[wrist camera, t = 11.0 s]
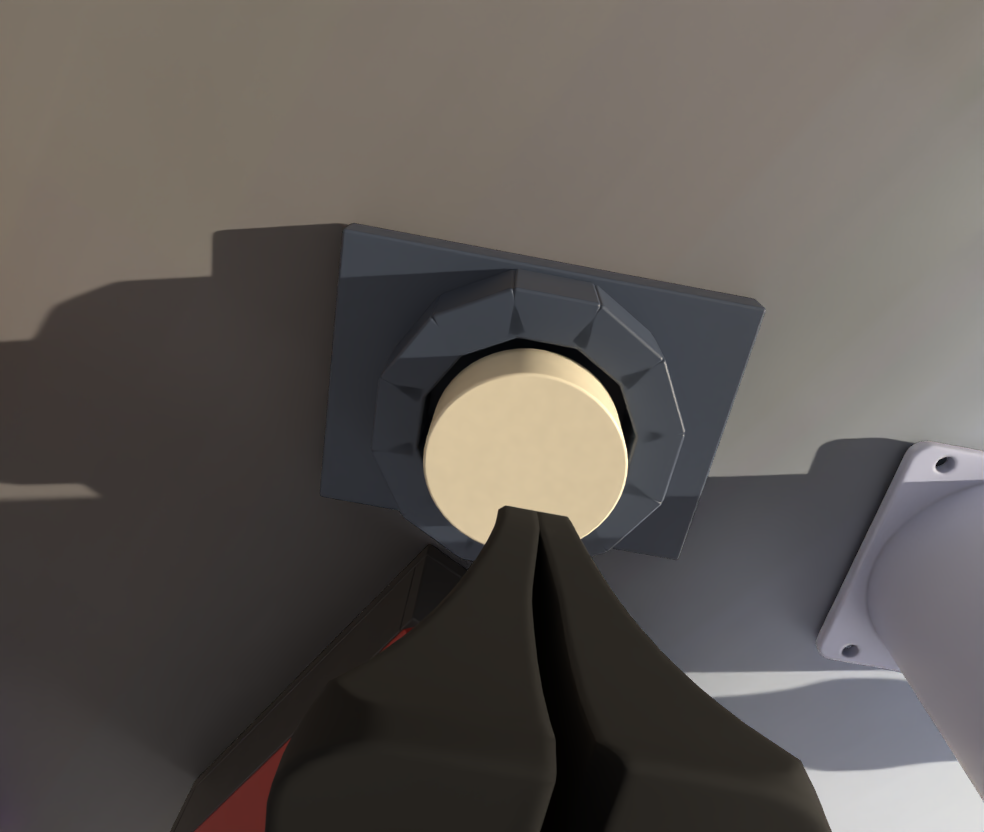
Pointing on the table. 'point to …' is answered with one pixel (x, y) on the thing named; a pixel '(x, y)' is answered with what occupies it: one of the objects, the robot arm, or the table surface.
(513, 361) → the power button
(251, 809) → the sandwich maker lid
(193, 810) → the black shallow box
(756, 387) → the table surface
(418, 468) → the switch block
